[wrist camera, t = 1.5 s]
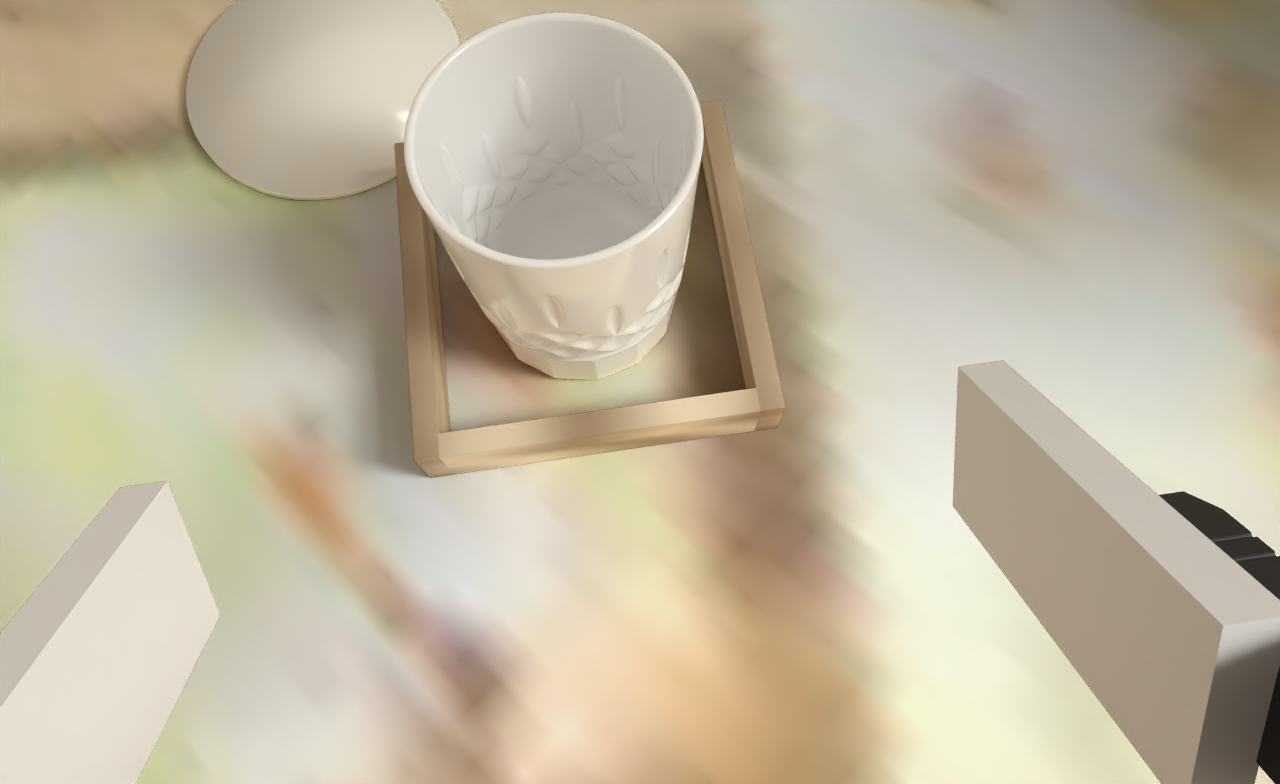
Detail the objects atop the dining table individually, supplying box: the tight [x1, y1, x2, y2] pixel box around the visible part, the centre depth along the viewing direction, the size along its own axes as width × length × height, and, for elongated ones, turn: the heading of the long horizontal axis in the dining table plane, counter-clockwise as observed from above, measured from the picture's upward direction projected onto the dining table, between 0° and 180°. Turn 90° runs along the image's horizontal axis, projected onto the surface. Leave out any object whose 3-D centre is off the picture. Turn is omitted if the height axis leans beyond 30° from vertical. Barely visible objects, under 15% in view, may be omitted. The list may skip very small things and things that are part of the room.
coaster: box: [186, 0, 460, 200], centre depth 37 cm, size 11×11×1 cm
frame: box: [394, 100, 785, 478], centre depth 32 cm, size 12×12×2 cm
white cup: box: [404, 12, 704, 380], centre depth 29 cm, size 8×8×10 cm
